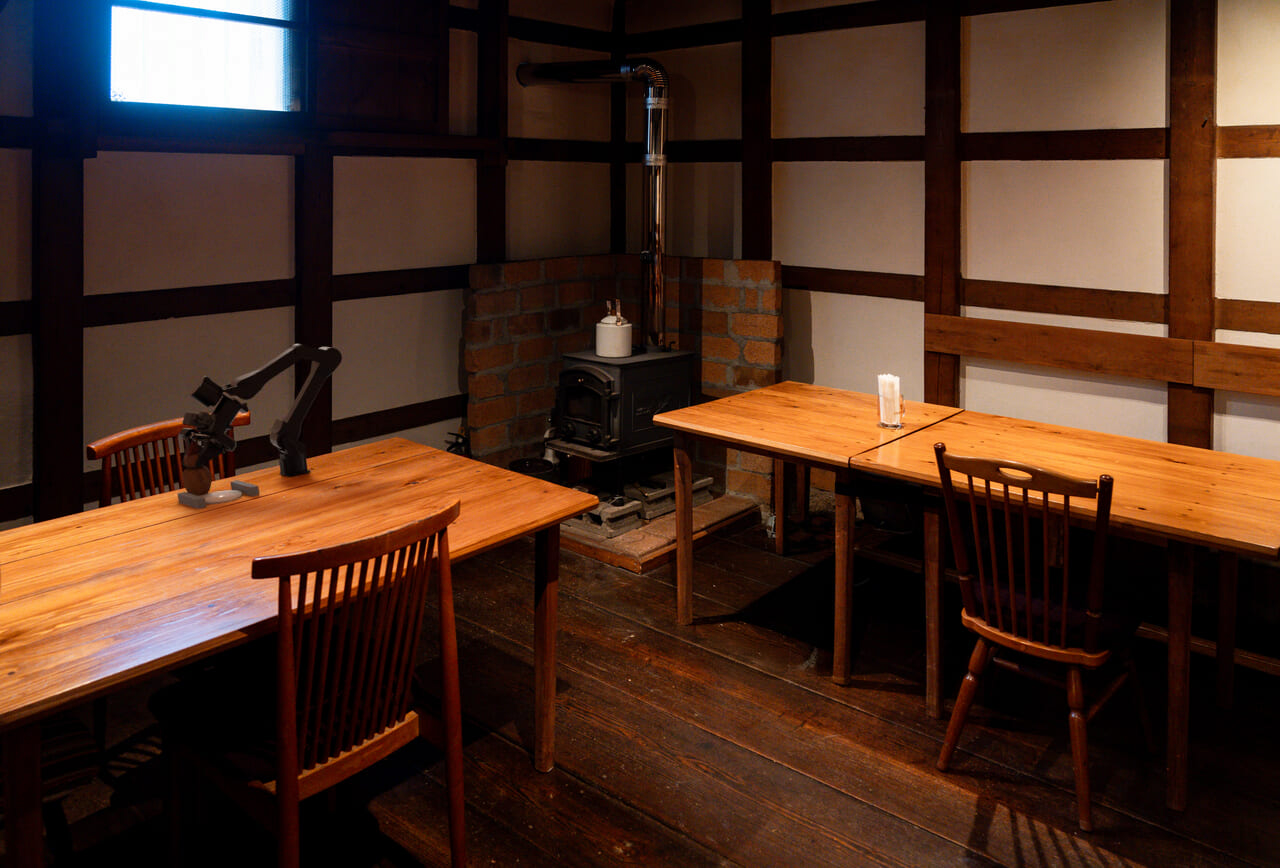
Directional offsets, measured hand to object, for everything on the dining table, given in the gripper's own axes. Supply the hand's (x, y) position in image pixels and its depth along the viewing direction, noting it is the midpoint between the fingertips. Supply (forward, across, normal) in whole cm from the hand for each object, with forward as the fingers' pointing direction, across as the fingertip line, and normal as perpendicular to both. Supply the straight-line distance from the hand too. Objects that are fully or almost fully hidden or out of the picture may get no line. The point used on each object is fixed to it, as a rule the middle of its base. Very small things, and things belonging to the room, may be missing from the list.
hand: (189, 465), depth 259 cm
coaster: (+5, +10, +6) cm, 13 cm away
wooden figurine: (+5, 0, +7) cm, 8 cm away
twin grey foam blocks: (+5, +10, +6) cm, 13 cm away
